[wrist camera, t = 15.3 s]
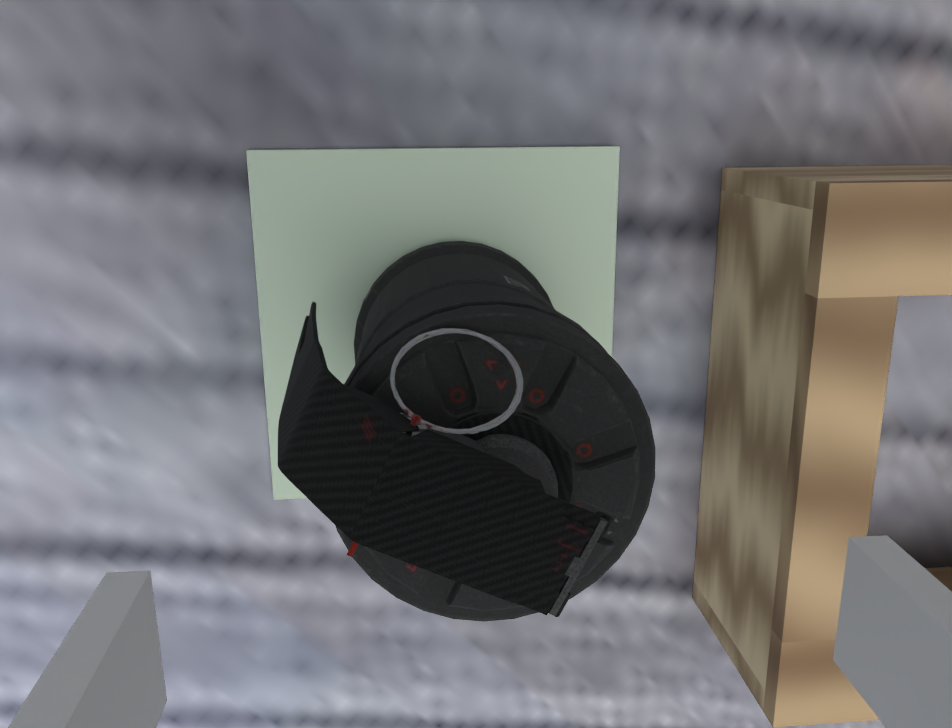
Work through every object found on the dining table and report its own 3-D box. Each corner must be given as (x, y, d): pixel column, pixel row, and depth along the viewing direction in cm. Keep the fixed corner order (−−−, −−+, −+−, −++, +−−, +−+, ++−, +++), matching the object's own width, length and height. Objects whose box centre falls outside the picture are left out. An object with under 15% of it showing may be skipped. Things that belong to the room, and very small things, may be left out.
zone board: (249, 149, 37) (246, 150, 36) (615, 145, 38) (619, 146, 37) (275, 492, 41) (273, 499, 40) (603, 478, 43) (607, 484, 42)
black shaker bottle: (500, 459, 41) (592, 757, 22) (283, 367, 39) (174, 611, 20) (589, 286, 39) (775, 448, 20) (366, 180, 37) (334, 247, 18)
